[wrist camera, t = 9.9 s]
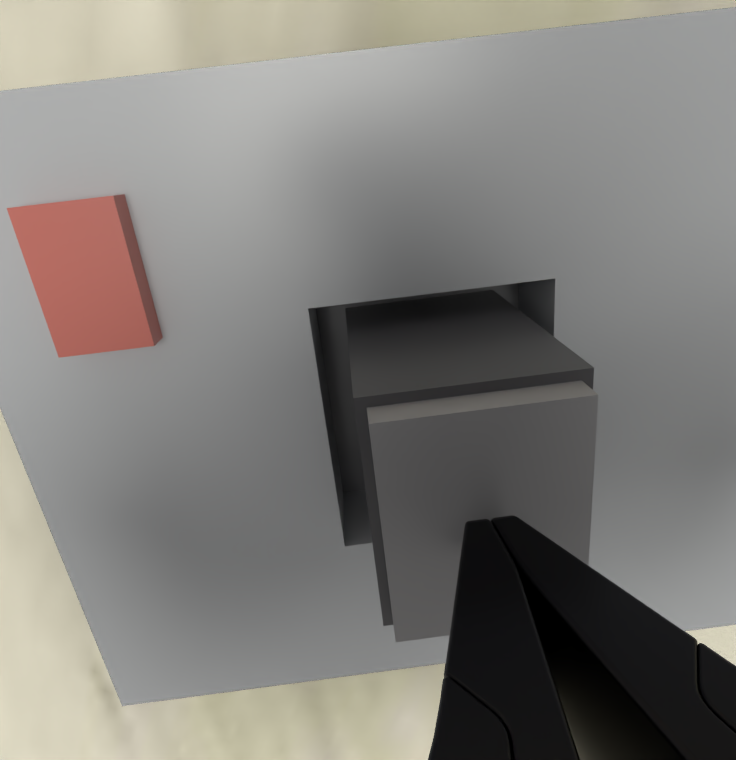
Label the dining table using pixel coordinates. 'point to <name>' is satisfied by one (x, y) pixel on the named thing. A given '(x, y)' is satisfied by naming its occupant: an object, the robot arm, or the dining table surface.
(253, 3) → the dining table surface
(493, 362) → the plug
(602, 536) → the socket plate
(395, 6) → the dining table surface
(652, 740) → the robot arm
